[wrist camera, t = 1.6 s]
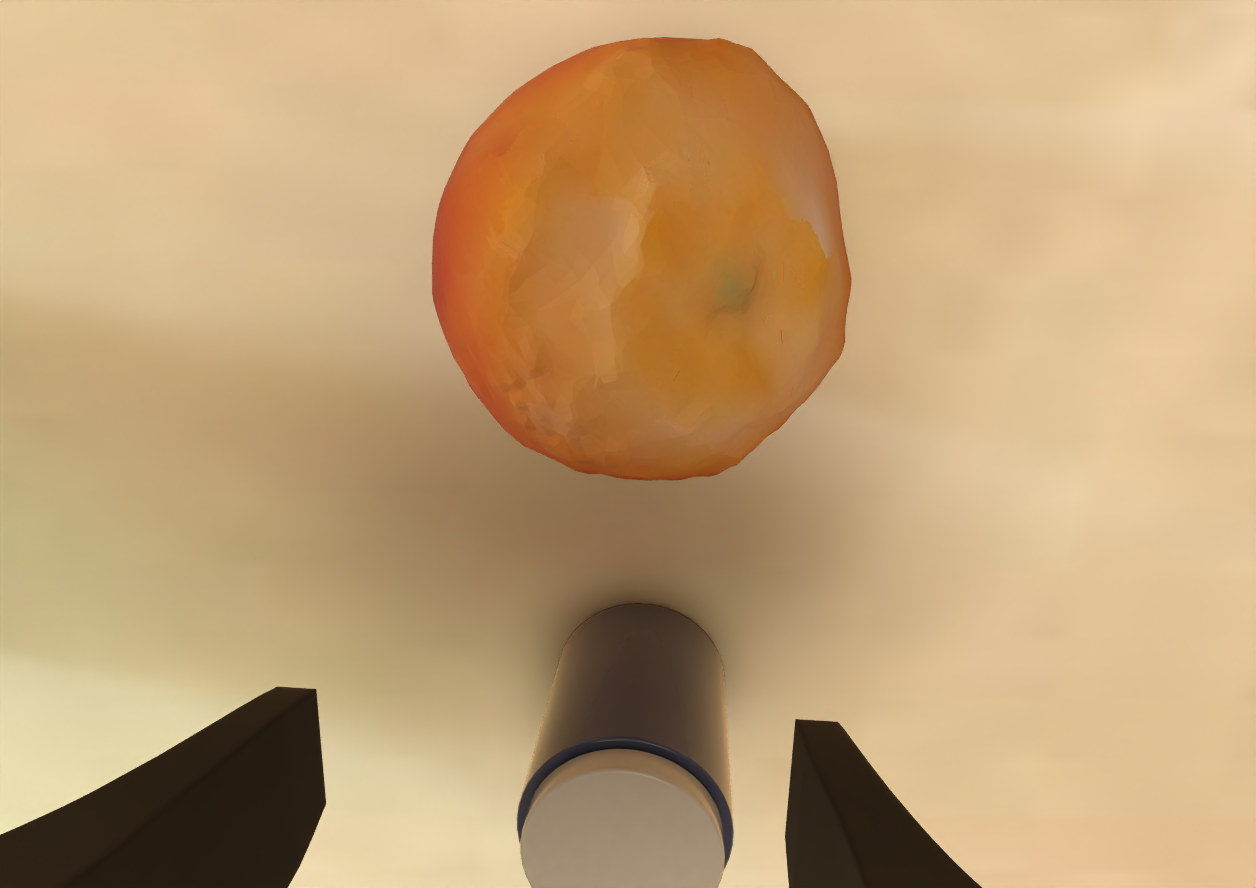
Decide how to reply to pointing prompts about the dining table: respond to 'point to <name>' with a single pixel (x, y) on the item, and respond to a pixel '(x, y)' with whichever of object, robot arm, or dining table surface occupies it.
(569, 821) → the salt shaker
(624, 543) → the dining table surface
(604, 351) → the fruit
